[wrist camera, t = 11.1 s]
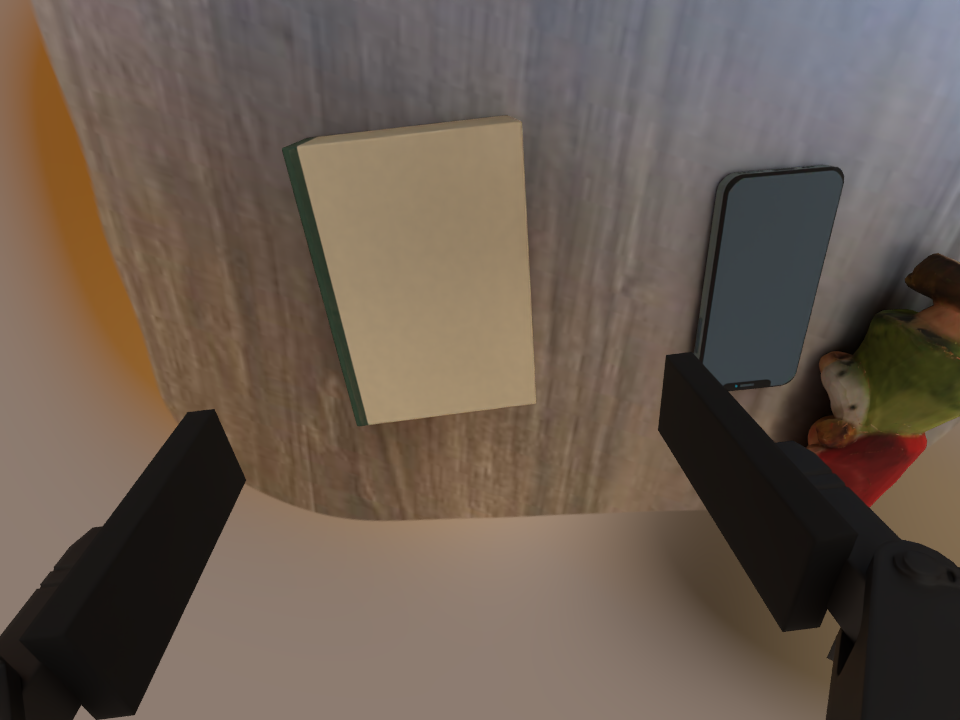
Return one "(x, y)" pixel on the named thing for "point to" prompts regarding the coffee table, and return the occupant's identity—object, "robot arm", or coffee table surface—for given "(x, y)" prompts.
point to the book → (422, 264)
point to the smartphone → (764, 272)
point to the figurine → (893, 386)
